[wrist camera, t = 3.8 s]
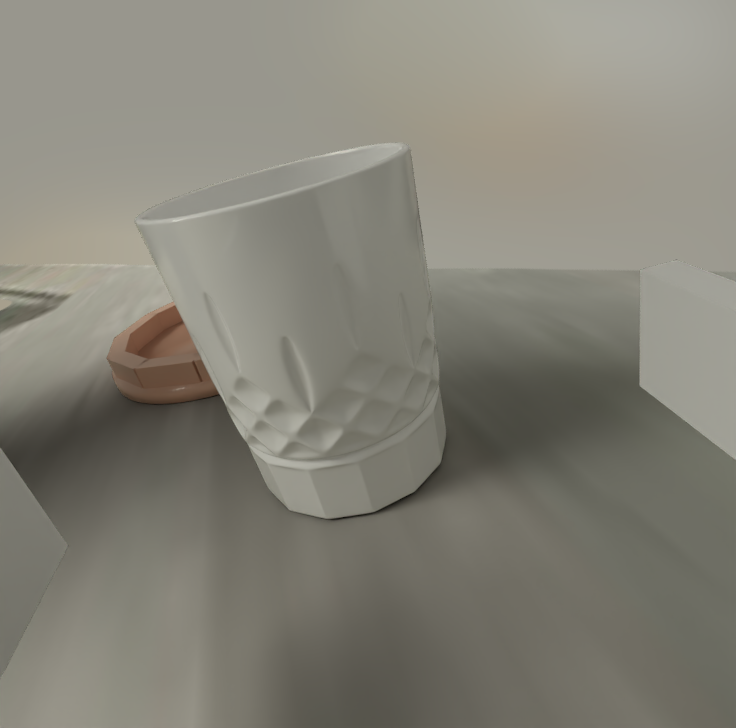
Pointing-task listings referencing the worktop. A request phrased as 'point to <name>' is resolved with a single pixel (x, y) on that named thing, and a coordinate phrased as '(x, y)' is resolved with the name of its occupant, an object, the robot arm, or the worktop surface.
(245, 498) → the worktop surface
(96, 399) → the worktop surface
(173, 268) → the white cup
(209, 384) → the saucer
